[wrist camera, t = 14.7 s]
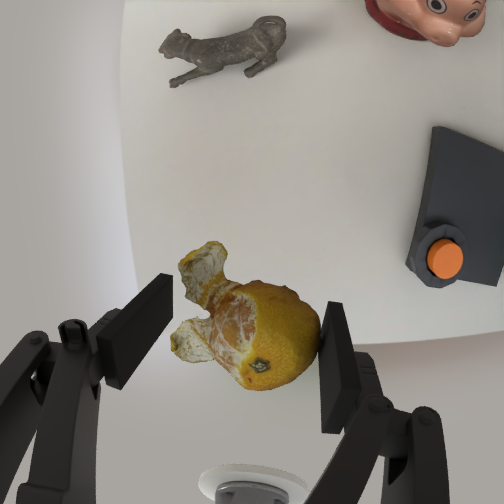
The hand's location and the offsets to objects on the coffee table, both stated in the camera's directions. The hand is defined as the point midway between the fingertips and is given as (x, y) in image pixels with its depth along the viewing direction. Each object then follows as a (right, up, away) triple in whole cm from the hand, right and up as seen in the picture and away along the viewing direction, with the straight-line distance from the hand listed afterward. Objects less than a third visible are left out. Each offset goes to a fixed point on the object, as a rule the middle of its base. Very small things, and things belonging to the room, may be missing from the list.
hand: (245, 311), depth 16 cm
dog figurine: (-2, +23, +9) cm, 25 cm away
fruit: (-1, 0, +1) cm, 1 cm away
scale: (+24, +8, +10) cm, 27 cm away
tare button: (+19, +3, +9) cm, 21 cm away
